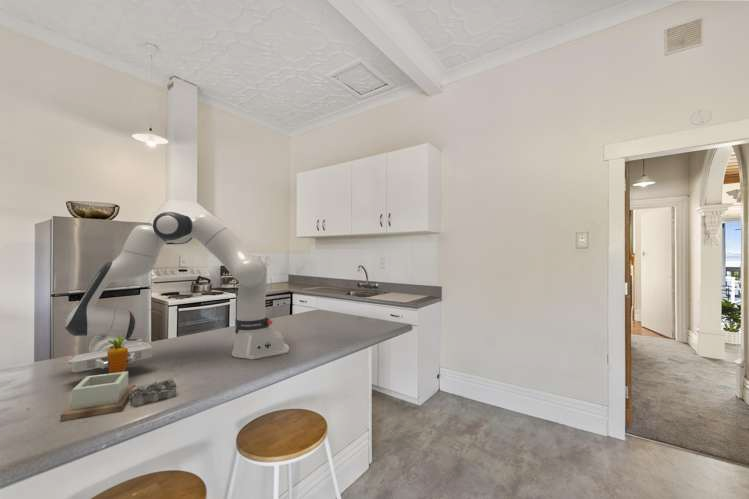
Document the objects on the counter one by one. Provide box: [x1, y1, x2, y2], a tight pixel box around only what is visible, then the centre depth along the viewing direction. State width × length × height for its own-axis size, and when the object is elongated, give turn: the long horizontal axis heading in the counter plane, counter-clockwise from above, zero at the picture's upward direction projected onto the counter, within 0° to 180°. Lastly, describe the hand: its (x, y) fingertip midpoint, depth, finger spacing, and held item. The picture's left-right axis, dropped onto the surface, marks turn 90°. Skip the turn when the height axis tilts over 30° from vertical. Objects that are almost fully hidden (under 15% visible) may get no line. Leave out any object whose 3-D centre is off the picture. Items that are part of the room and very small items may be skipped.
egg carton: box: [129, 377, 178, 407], centre depth 90 cm, size 11×8×4 cm
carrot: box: [108, 335, 128, 374], centre depth 98 cm, size 5×5×15 cm
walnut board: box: [60, 384, 136, 422], centre depth 86 cm, size 12×14×2 cm
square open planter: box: [71, 370, 129, 410], centre depth 86 cm, size 9×9×5 cm
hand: (118, 362), depth 98 cm, fingers closed on carrot, 5 cm apart
